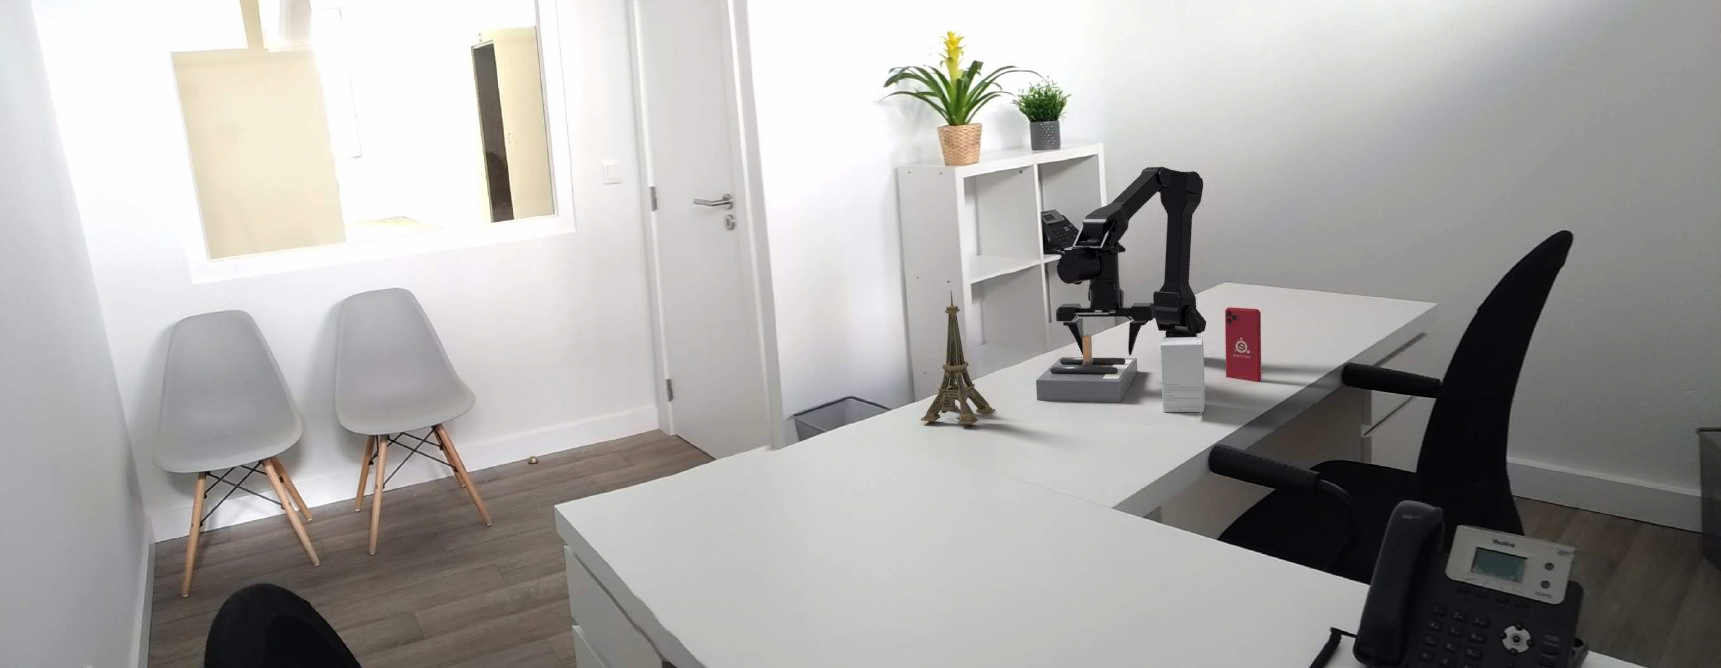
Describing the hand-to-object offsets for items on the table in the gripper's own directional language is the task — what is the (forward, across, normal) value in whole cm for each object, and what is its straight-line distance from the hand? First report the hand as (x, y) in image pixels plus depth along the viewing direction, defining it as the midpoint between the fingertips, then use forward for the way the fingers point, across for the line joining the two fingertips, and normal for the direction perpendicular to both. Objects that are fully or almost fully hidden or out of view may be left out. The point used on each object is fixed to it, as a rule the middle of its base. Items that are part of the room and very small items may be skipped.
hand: (1106, 354), depth 216 cm
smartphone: (+7, -25, -7) cm, 27 cm away
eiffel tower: (+7, +24, +24) cm, 35 cm away
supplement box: (+7, -16, +14) cm, 23 cm away
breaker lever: (+3, +4, 0) cm, 5 cm away
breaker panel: (+7, +4, 0) cm, 8 cm away
